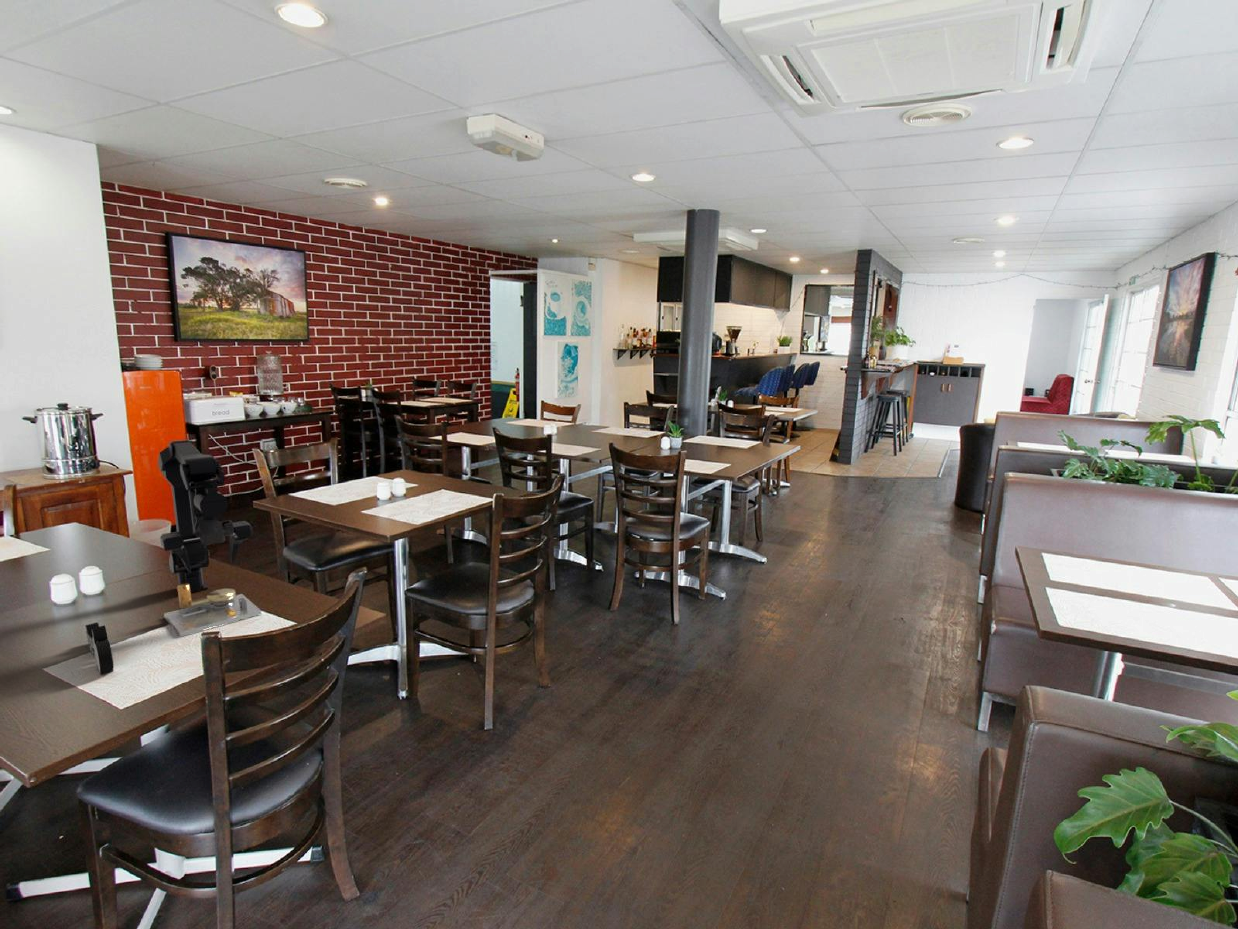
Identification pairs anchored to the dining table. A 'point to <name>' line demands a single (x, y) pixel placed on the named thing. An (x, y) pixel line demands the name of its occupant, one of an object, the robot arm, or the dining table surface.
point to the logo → (100, 647)
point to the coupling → (212, 597)
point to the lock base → (210, 615)
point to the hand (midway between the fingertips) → (211, 567)
